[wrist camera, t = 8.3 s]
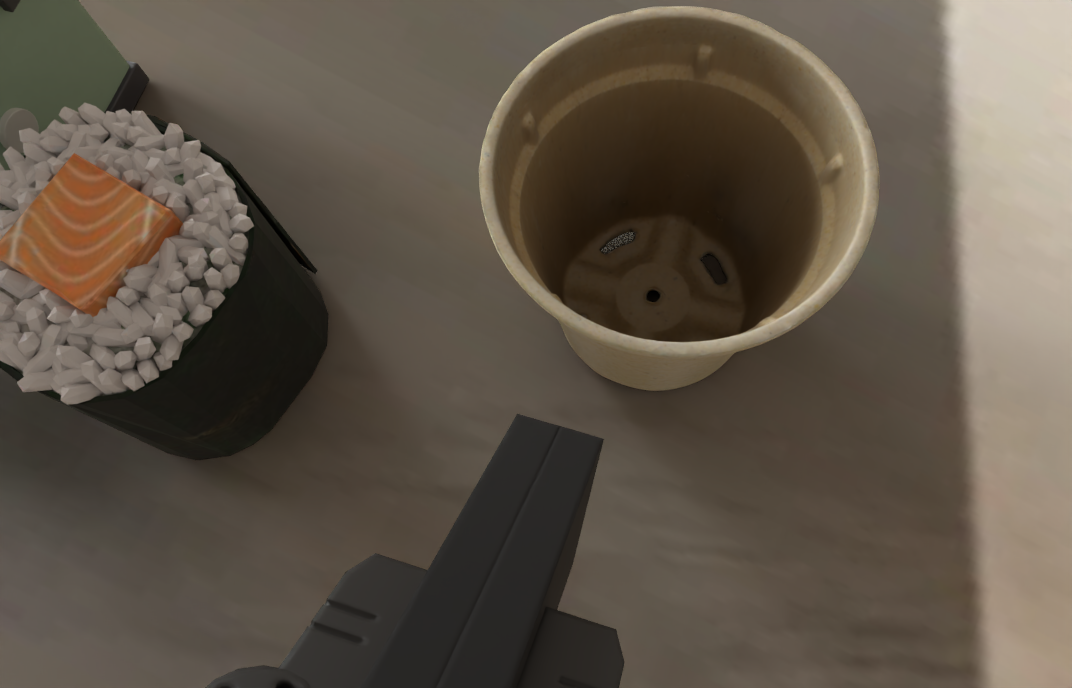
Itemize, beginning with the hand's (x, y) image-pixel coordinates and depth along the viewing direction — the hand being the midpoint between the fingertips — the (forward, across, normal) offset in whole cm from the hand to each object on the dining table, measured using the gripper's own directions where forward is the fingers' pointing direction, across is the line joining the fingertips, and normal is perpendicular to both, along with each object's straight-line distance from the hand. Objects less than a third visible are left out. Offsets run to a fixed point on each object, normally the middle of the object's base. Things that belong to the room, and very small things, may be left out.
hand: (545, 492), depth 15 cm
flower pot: (+15, 0, -2) cm, 15 cm away
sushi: (+11, -14, -6) cm, 19 cm away
